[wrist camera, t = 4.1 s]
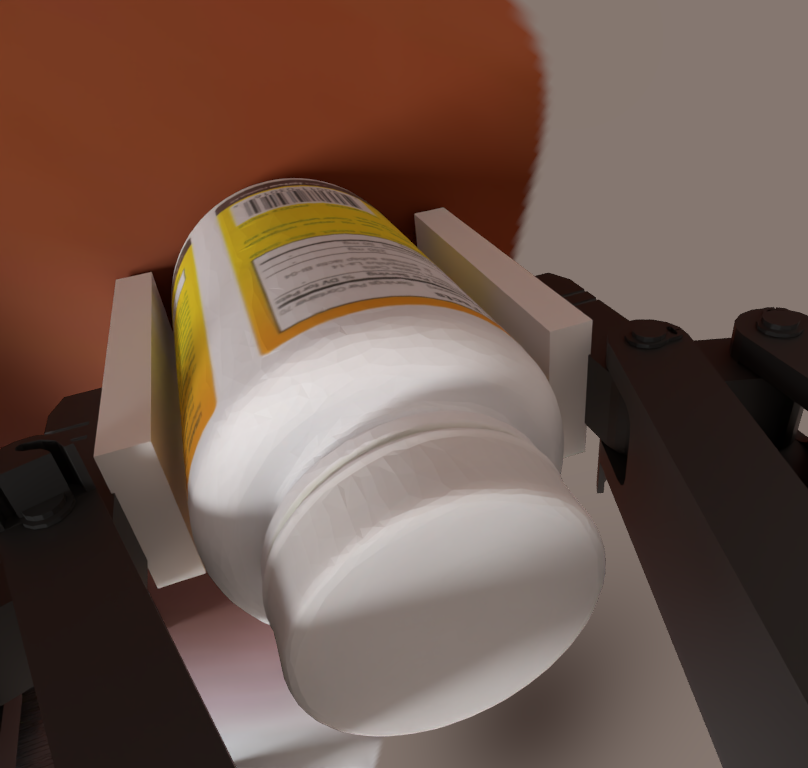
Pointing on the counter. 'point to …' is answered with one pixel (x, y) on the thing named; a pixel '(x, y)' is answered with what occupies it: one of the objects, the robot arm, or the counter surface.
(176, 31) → the counter surface
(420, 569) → the supplement bottle
